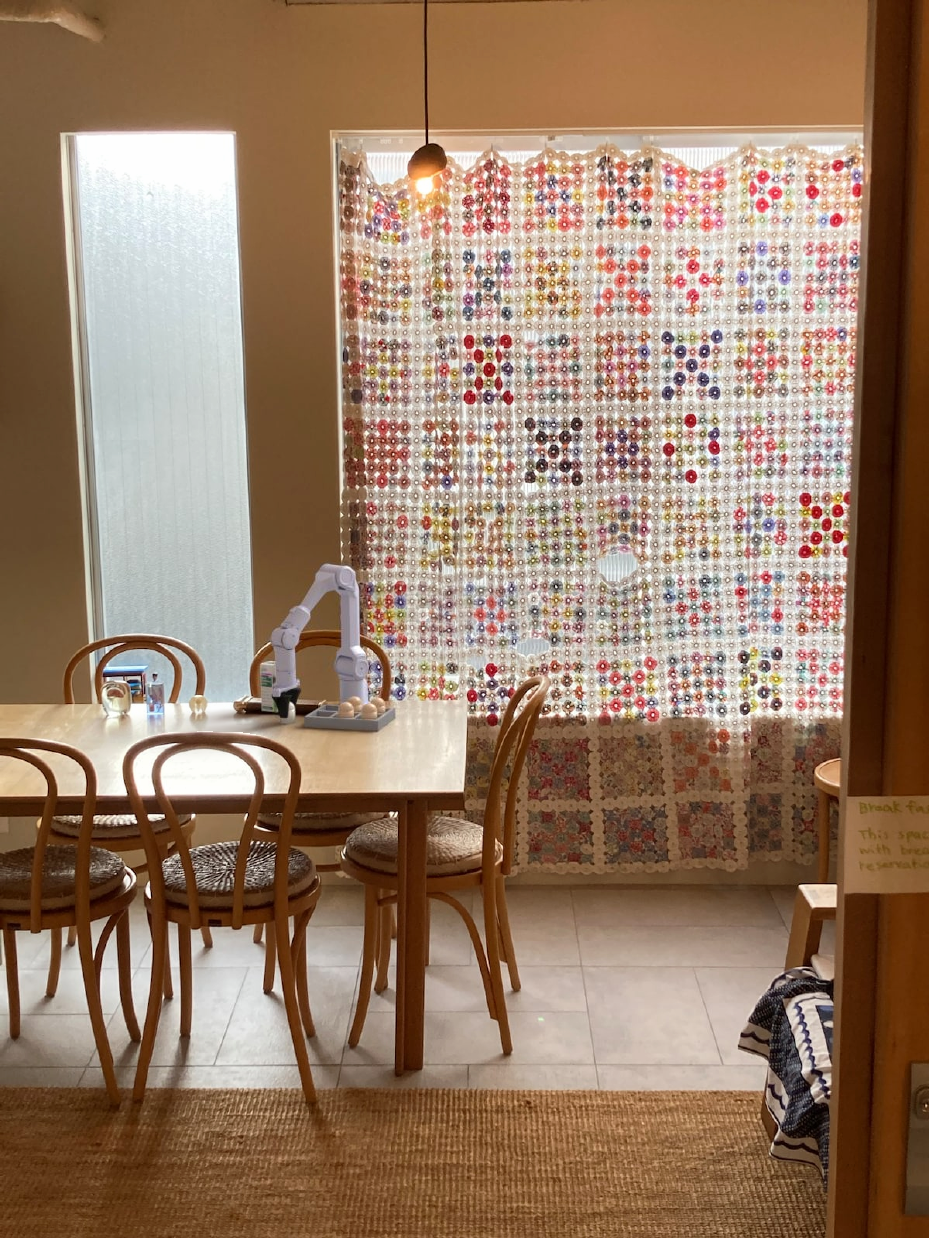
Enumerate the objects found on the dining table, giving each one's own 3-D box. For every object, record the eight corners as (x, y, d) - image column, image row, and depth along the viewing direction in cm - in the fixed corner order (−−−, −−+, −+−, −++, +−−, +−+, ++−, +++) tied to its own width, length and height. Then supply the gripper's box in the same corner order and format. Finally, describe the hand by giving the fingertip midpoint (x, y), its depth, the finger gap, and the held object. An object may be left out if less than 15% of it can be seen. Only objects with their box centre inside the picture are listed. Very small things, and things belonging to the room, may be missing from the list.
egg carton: (324, 714, 341) (324, 691, 340) (395, 718, 336) (394, 695, 335) (304, 726, 327) (303, 703, 326) (378, 731, 321) (377, 707, 320)
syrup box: (261, 711, 347) (258, 663, 344) (273, 706, 352) (270, 659, 349) (276, 712, 344) (274, 665, 342) (288, 708, 349) (286, 661, 347)
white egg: (283, 719, 335) (282, 699, 334) (297, 720, 334) (297, 699, 333) (277, 723, 331) (276, 702, 330) (291, 724, 330) (290, 703, 329)
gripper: (283, 663, 338) (284, 708, 340) (261, 674, 324) (263, 721, 327) (305, 664, 336) (307, 710, 339) (284, 675, 323) (286, 722, 325)
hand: (287, 715), depth 332 cm, fingers closed on white egg, 4 cm apart
